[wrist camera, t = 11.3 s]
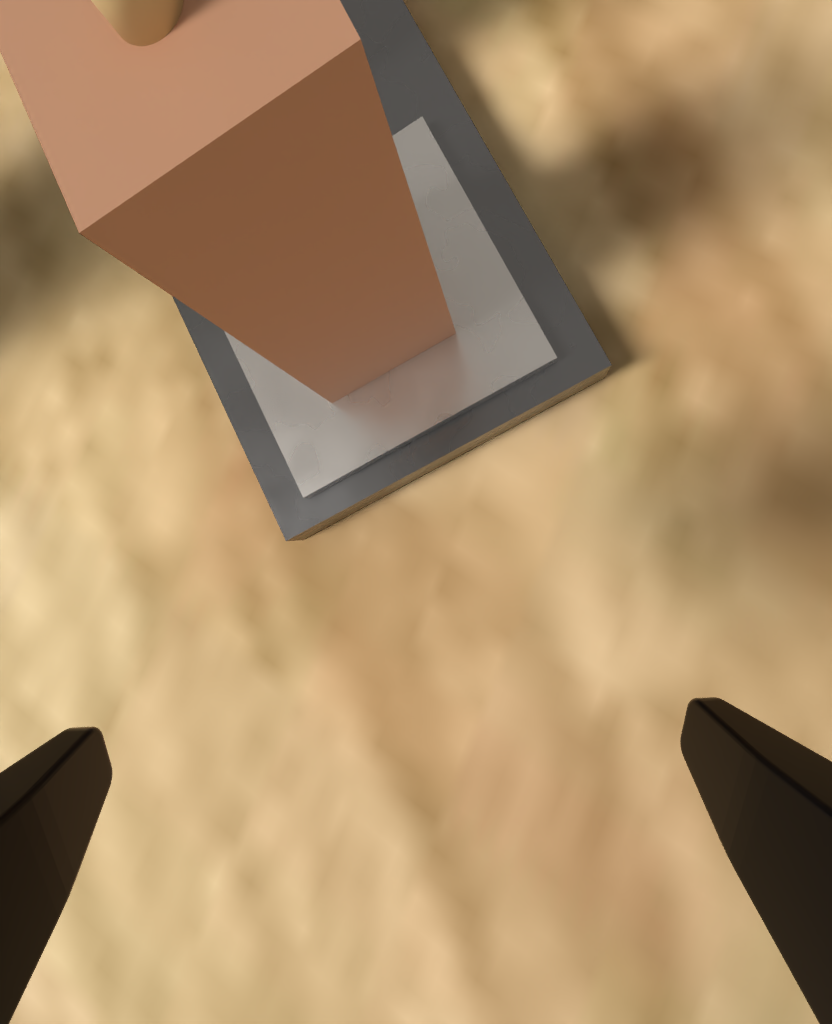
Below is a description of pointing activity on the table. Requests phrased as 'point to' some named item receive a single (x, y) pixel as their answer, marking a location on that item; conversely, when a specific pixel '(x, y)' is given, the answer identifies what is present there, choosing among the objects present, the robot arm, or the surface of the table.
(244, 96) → the block
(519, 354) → the arbor press
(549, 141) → the table surface
